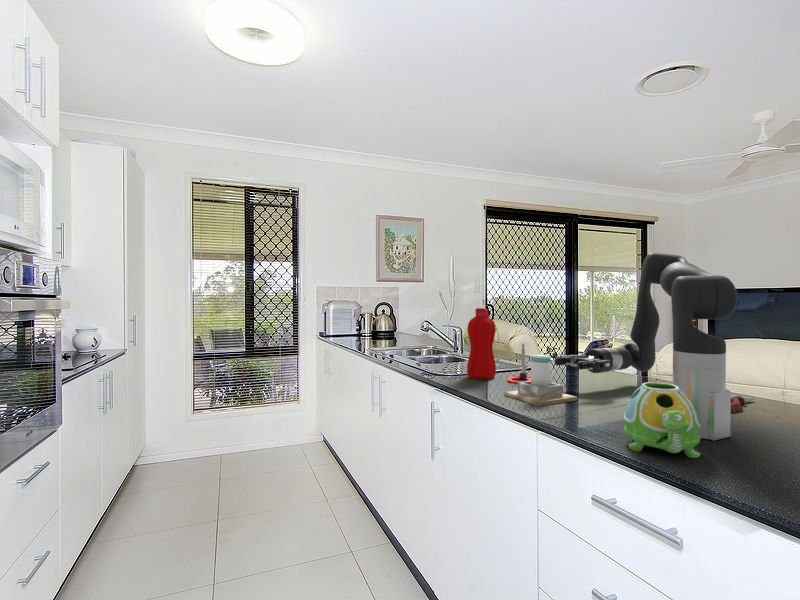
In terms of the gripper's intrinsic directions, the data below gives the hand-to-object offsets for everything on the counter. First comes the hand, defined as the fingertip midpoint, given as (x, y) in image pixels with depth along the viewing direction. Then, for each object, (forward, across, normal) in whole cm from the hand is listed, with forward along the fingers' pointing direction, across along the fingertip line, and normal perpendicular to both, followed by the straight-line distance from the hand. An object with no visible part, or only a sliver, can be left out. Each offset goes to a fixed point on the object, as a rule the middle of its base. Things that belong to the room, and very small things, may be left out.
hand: (566, 363), depth 128 cm
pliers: (-29, +29, +10) cm, 42 cm away
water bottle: (+6, -32, +9) cm, 34 cm away
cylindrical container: (+11, 0, +8) cm, 13 cm away
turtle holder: (+22, +42, +9) cm, 48 cm away
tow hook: (-1, -21, +9) cm, 23 cm away
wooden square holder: (+11, 0, +9) cm, 14 cm away
